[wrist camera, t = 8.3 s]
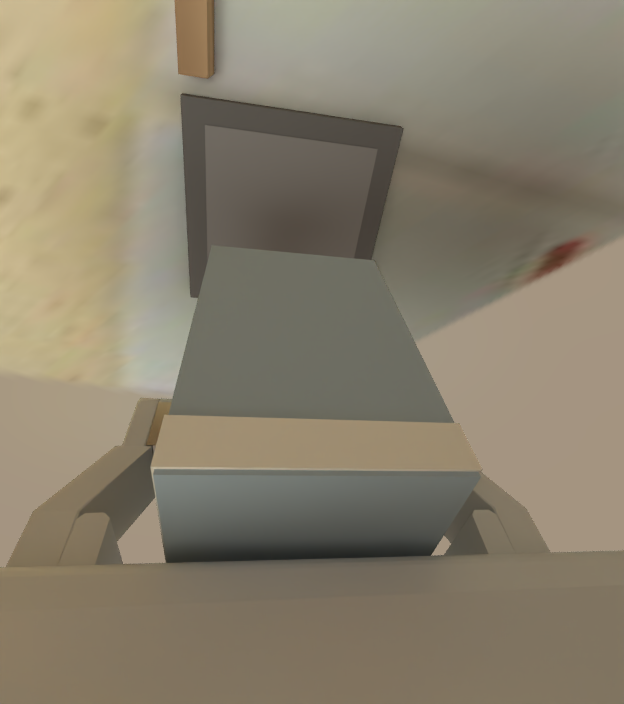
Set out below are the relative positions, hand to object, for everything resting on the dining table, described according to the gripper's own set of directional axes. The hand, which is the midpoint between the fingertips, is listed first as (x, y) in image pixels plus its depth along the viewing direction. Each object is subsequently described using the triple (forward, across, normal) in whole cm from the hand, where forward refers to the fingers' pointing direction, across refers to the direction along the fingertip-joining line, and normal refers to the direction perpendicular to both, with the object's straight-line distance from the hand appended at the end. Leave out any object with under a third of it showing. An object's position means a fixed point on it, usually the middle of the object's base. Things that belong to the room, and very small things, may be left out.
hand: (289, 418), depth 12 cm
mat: (+15, 0, 0) cm, 16 cm away
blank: (+4, 0, 0) cm, 4 cm away
